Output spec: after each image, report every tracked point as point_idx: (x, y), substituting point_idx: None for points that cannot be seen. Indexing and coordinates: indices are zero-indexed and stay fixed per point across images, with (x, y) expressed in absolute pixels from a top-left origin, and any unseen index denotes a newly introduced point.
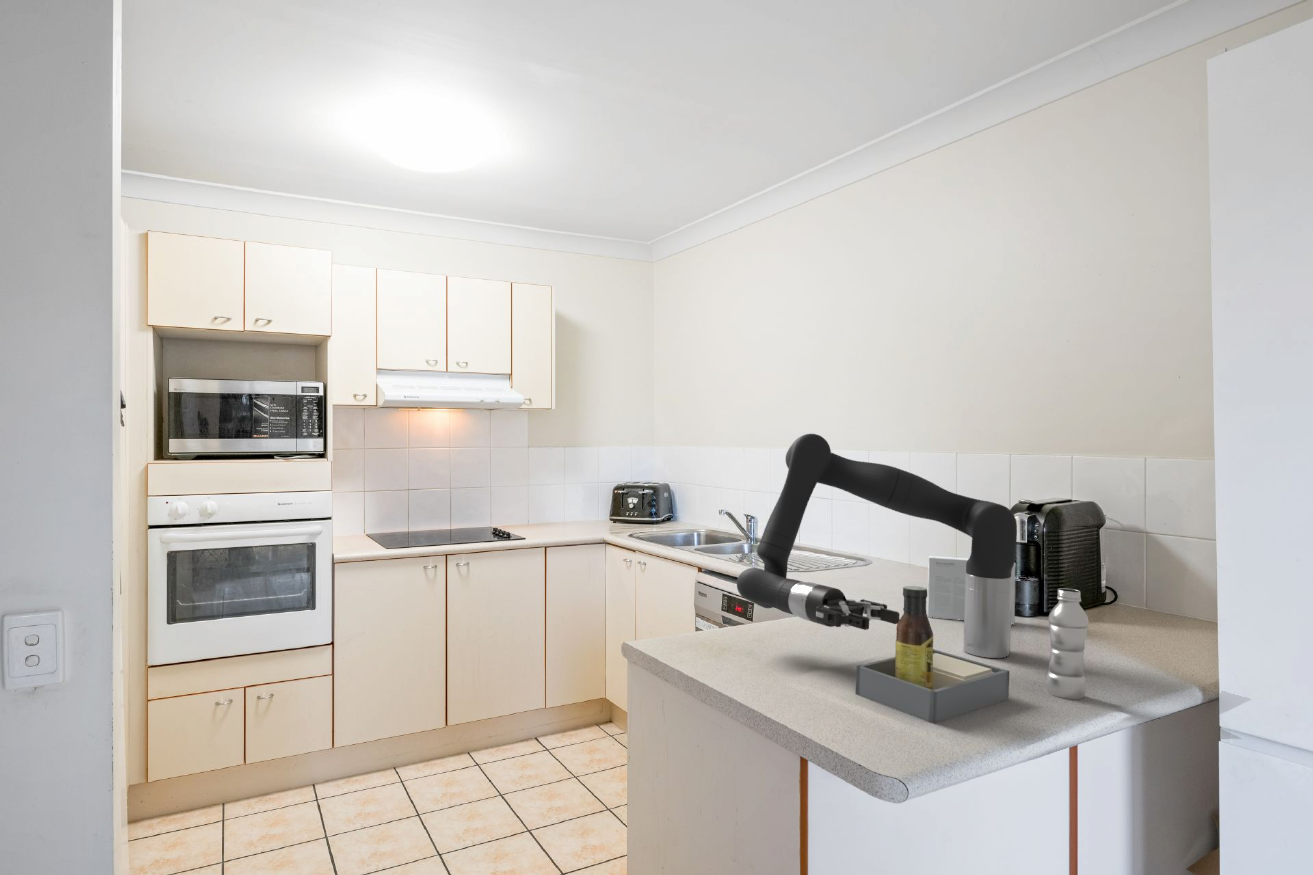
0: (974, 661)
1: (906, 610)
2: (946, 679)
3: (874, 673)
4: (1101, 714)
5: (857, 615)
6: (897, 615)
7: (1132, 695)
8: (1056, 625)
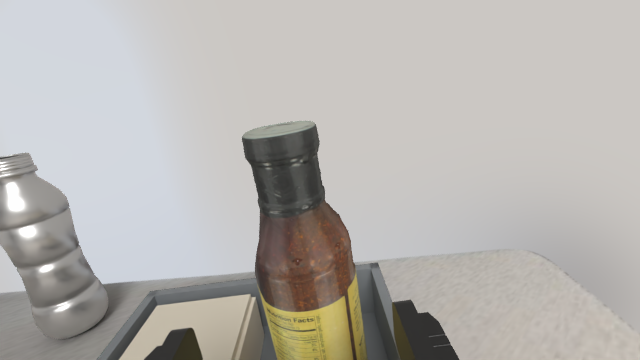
0: (109, 348)
1: (323, 191)
2: (250, 334)
3: None
4: (136, 282)
5: (427, 341)
6: (192, 332)
7: (13, 305)
8: (56, 214)
